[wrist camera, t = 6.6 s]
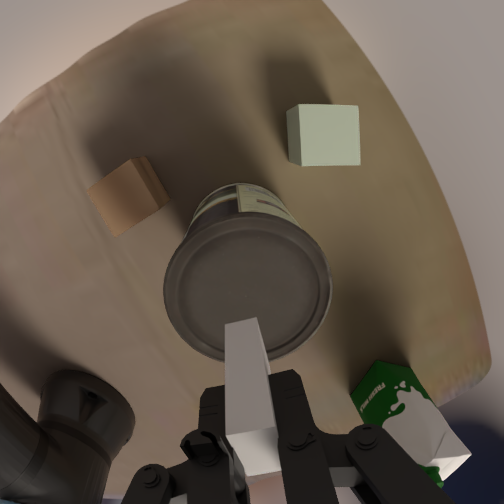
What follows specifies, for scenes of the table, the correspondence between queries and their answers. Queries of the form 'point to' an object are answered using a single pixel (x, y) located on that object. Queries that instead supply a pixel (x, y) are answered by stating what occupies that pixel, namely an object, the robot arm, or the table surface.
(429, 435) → the milk carton
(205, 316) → the coffee can
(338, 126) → the sage block
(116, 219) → the brown wooden cube
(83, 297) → the table surface
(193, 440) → the robot arm
